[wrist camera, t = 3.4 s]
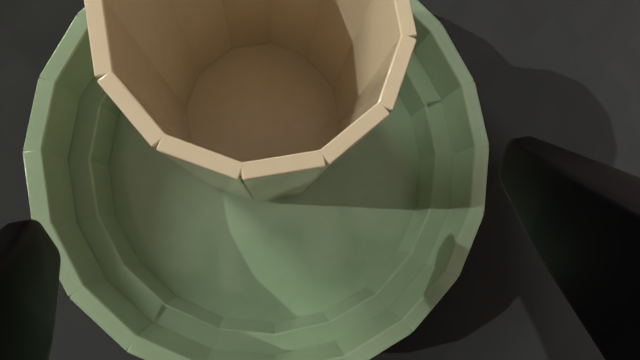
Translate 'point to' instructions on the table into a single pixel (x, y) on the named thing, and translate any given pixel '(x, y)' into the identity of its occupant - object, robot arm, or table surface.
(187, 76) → the beige cup
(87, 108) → the big bowl
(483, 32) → the table surface
